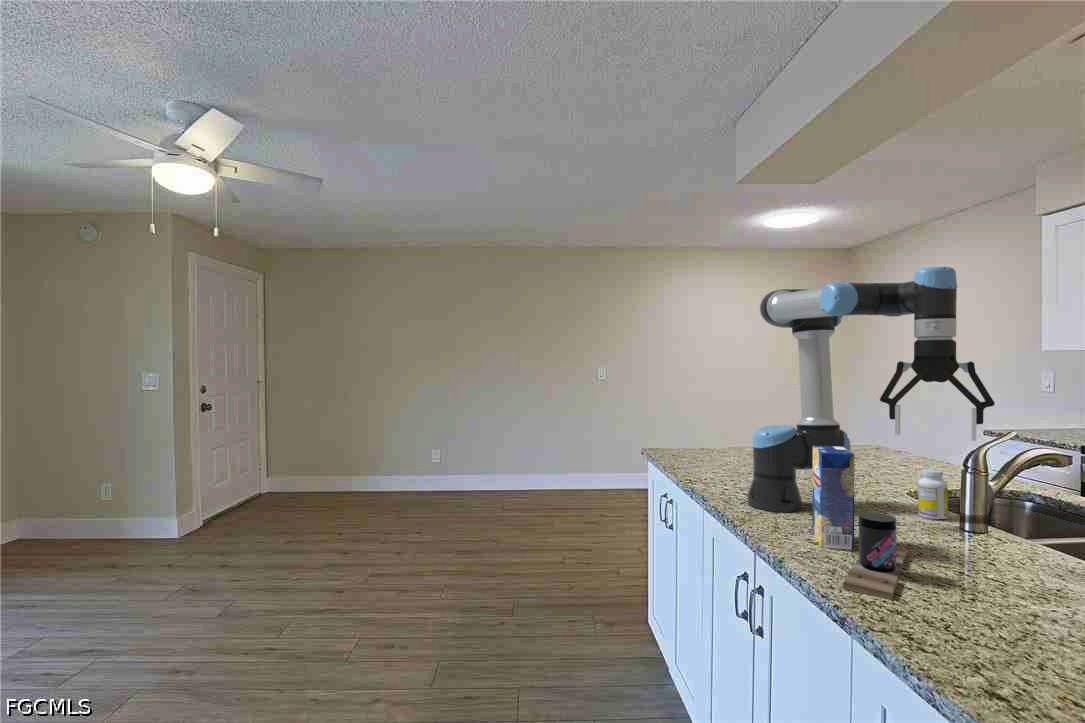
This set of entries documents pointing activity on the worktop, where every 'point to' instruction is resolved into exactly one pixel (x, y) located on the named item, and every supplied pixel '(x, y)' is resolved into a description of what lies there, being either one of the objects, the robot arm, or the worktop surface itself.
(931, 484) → the supplement bottle
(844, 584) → the hinge leaves
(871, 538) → the supplement container
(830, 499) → the beverage box
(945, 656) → the worktop surface
